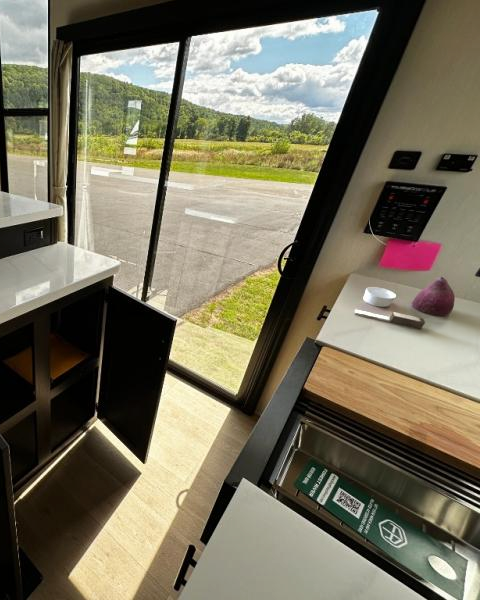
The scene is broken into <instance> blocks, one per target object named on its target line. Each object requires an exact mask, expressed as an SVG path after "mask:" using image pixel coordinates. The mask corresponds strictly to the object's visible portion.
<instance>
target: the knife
mask: <svg viewBox="0 0 480 600" xmlns="http://www.w3.org/2000/svg"><path fill="white" fill-rule="evenodd" d="M353 313H354V315H356V316H361V317H365V318H368V319H369V318H370V319H374V320H377V321H382V322H386V323H390V324H395V325H399V326H402V327H403V326H404V327H408V328H412V329H416V330H420V331H421V330H422V328H423V327H424V325H425V324H426V322H425V321H426V320H425V319H424V318H422V317H418V316H413V315H408V314H404V313H400V312H395V311H393V312H391V315H390V316H387V315H382V314H377V313H373V312H368V311H364V310H360V309H354V312H353Z"/></svg>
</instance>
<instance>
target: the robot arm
mask: <svg viewBox="0 0 480 600" xmlns="http://www.w3.org/2000/svg"><path fill="white" fill-rule="evenodd" d="M474 276H475V277H476V278H480V267H479V268H478V269H477V270H476V272H475V273H474Z"/></svg>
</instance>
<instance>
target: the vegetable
mask: <svg viewBox="0 0 480 600" xmlns="http://www.w3.org/2000/svg"><path fill="white" fill-rule="evenodd" d="M455 298H456V297H455V293H454V290H453V289H452V287H451V286H450V284H449V282H448V280H447V279H446V278H444V277H443V276H442V275H441V276H440V277H438V278H437V279H436V280H434V281H433V282H431V284H429V285H428V286H426V287H424V288H423V289H421V290H420V291H419V292H418V293H417V294H416V296H415V297H414V298H413V300H412V301H411V305H412V306H411V307H412V308H414V309H415V310H417V311H420V312H422V313H425V314H427V315H432V316H436V317H447V316H449V315H450V314H451V313H452V311H453V309H454V306H455V300H456V299H455Z"/></svg>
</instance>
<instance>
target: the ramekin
mask: <svg viewBox="0 0 480 600" xmlns="http://www.w3.org/2000/svg"><path fill="white" fill-rule="evenodd" d="M396 298H397V294H396V293H395V292H393V291H391V290H389V289H387V288H383V287H377V286H369V287H366V288H365V292H364V295H363V301H364V302H365V303H367V304H369V305H370V306H373V307H379V308H385V307H386V308H387V307H389V306H390V305H391V304H392V302H393V301H394V300H395V299H396Z"/></svg>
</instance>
